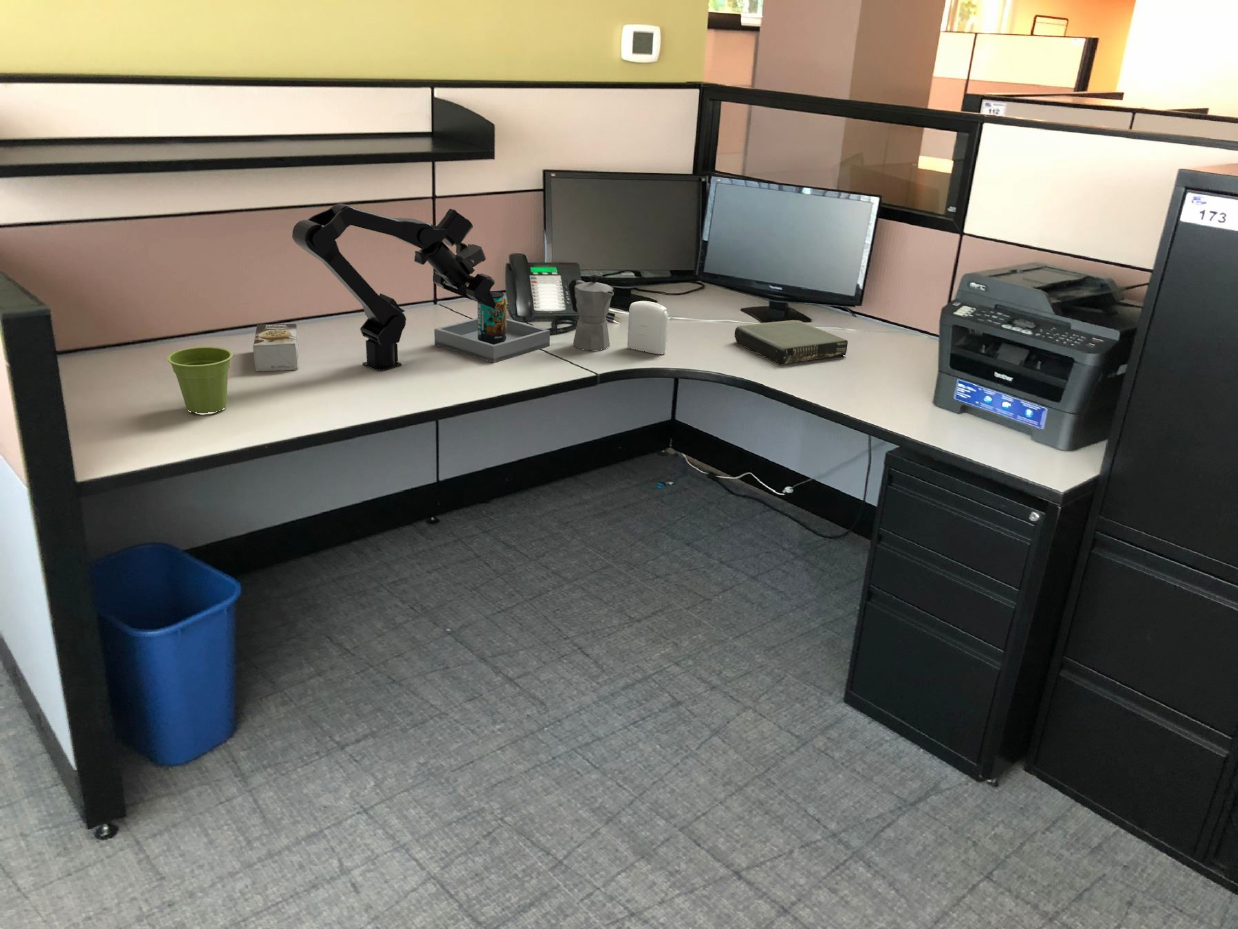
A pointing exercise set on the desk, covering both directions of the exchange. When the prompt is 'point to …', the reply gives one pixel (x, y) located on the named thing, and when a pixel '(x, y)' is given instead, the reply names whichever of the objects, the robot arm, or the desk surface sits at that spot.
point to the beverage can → (493, 320)
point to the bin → (516, 343)
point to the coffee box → (276, 347)
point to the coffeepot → (591, 313)
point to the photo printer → (647, 327)
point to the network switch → (790, 341)
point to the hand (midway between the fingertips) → (483, 302)
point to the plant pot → (202, 377)
